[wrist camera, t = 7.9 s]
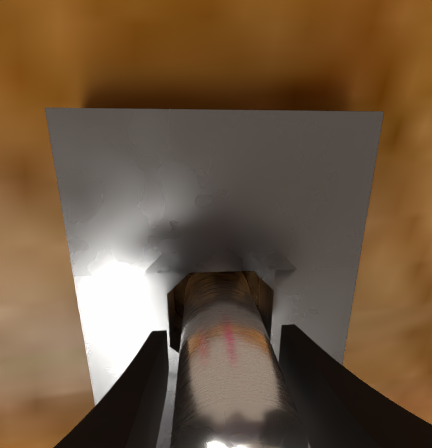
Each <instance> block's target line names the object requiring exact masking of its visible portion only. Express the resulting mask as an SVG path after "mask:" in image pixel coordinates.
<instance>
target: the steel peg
mask: <svg viewBox="0 0 432 448" xmlns="http://www.w3.org/2000/svg"><path fill="white" fill-rule="evenodd" d="M170 448H308V439H307V436H306V432H305V430H304V427H303V425H302V422H301V419H300V417H299V414H298V412H297V409H296V407H295V404H294V401H293V399H292V396H291V394H290V391H289V389H288V386H287V383H286V381H285V378H284V376H283V373H282V371H281V368H280V365H279V363H278V360H277V358H276V355H275V353H274V350H273V347H272V345H271V342H270V340H269V337H268V335H267V332H266V329H265V327H264V324H263V322H262V319H261V317H260V314H259V311H258V309H257V306H256V304H255V301H254V299H253V296H252V293H251V291H250V288H249V286H248V283H247V280H246V278H245V276H244V275H243V273H242V272H241V271H226V272H194V273H192V275H191V276H190V278H189V279H188V282H187V285H186V291H185V301H184V311H183V321H182V332H181V342H180V352H179V362H178V372H177V382H176V392H175V402H174V412H173V423H172V433H171V443H170Z"/></svg>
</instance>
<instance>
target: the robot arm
mask: <svg viewBox="0 0 432 448" xmlns="http://www.w3.org/2000/svg"><path fill="white" fill-rule="evenodd" d="M279 365H280V368H281V371H282V373H283V376H284V378H285V381H286V383H287V386H288V389H289V391H290V394H291V396H292V399H293V401H294V404H295V407H296V409H297V412H298V414H299V417H300V419H301V422H302V425H303V427H304V430H305V432H306V436H307V439H308V442H309V445H310V447H311V448H432V425H431V424H429V423H428V422H426V421H424V420H422V419H421V418H419V417H417V416H415V415H414V414H412V413H411V412H409V411H407V410H406V409H404V408H402V407H401V406H399V405H397V404H396V403H394V402H393V401H391V400H389V399H388V398H386V397H385V396H383V395H382V394H380V393H379V392H378V391H376V390H375V389H373V388H372V387H370V386H369V385H367V384H366V383H365V382H363V381H362V380H360V379H359V378H358V377H356V376H355V375H354V374H353V373H351V372H350V371H349V370H347V369H346V368H345V367H344V366H342V365H341V364H340V363H339V362H337V361H336V360H335V359H334V358H332V357H331V356H330V355H329V354H328V353H327V352H325V351H324V350H323V349H322V348H321V347H320V346H319V345H317V344H316V343H315V342H314V341H313V340H312V339H311V338H310V337H308V336H307V335H306V334H305V333H304V332H303V331H302V330H301V329H300V328H298V327H297V326H296V325H295V324H290V325H281V337H280V350H279ZM168 374H169V359H168V344H167V330H161V331H152V332H151V333H150V334H149V336H148V338H147V339H146V341H145V342H144V344H143V346H142V347H141V349H140V350H139V351H138V353H137V354H136V356H135V357H134V359H133V360H132V361H131V363H130V364H129V366H128V367H127V368H126V370H125V371H124V372H123V374H122V375H121V376H120V377H119V379H118V380H117V381H116V382H115V384H114V385H113V386H112V387H111V389H110V390H109V391H108V392H107V393H106V394H105V396H104V397H103V398H102V399H101V400H100V401H99V402H98V404H97V405H96V406H95V407H94V408H93V409H92V410H91V411H90V412H89V413H88V414H87V415H86V416H85V418H84V419H83V420H82V421H81V422H80V423H79V424H78V425H77V426H76V427H75V428H74V429H73V430H72V431H71V432H70V433H69V434H67V435H66V436H65V437H64V438H63V439H62V440H61V441H60V442H59V443H58V444H57V445H56V446H55V447H54V448H156V445H157V440H158V435H159V430H160V425H161V420H162V415H163V410H164V404H165V399H166V394H167V385H168Z"/></svg>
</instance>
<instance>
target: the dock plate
mask: <svg viewBox="0 0 432 448" xmlns="http://www.w3.org/2000/svg"><path fill="white" fill-rule="evenodd" d="M45 112H46V118H47V124H48V129H49V135H50V141H51V147H52V153H53V159H54V165H55V171H56V177H57V183H58V189H59V194H60V200H61V206H62V212H63V218H64V224H65V230H66V236H67V242H68V248H69V254H70V259H71V265H72V271H73V277H74V283H75V289H76V295H77V301H78V307H79V313H80V319H81V324H82V330H83V336H84V342H85V348H86V354H87V360H88V366H89V372H90V378H91V384H92V389H93V395H94V401H95V406H96V405H97V404H98V402H99V401H100V400H101V399H102V398H103V397H104V396H105V394H106V393H107V392H108V391H109V390H110V389H111V387H112V386H113V385H114V384H115V382H116V381H117V380H118V379H119V377H120V376H121V375H122V374H123V372H124V371H125V370H126V368H127V367H128V366H129V364H130V363H131V361H132V360H133V359H134V357H135V356H136V354H137V353H138V351H139V350H140V349H141V347H142V346H143V344H144V342H145V341H146V339H147V338H148V336H149V334H150V333H151V332H152V331H161V330H167V344H168V359H169V374H168V385H167V394H166V399H165V404H164V410H163V415H162V420H161V425H160V430H159V435H158V440H157V445H156V448H170V443H171V433H172V423H173V412H174V402H175V392H176V382H177V372H178V362H179V352H180V342H181V332H182V321H183V318H182V317H180V316H179V315H178V314H177V313H175V298H174V287H175V286H176V285H177V284H178V283H179V282H180V281H181V280H182V279H183V278H184V277H185V276H186V275H187V274H188V273H194V272H226V271H254V272H255V273H256V274H257V275H258V276H259V291H258V311H259V314H260V317H261V319H262V322H263V324H264V327H265V329H266V332H267V335H268V337H269V340H270V342H271V345H272V347H273V350H274V353H275V355H276V358H277V360H278V363H279V350H280V337H281V325H290V324H295V325H296V326H297V327H298V328H300V329H301V330H302V331H303V332H304V333H305V334H306V335H307V336H308V337H310V338H311V339H312V340H313V341H314V342H315V343H316V344H317V345H319V346H320V347H321V348H322V349H323V350H324V351H325V352H327V353H328V354H329V355H330V356H331V357H332V358H334V359H335V360H336V361H337V362H339V363H340V364H341V365H342V363H343V357H344V351H345V345H346V339H347V333H348V327H349V321H350V315H351V308H352V302H353V296H354V290H355V284H356V278H357V272H358V266H359V260H360V254H361V248H362V242H363V235H364V229H365V223H366V217H367V211H368V205H369V199H370V193H371V187H372V181H373V175H374V169H375V162H376V156H377V150H378V144H379V138H380V132H381V126H382V120H383V114H384V112H375V111H289V110H203V109H116V108H45ZM308 448H311V447H310V445H309V442H308Z"/></svg>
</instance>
